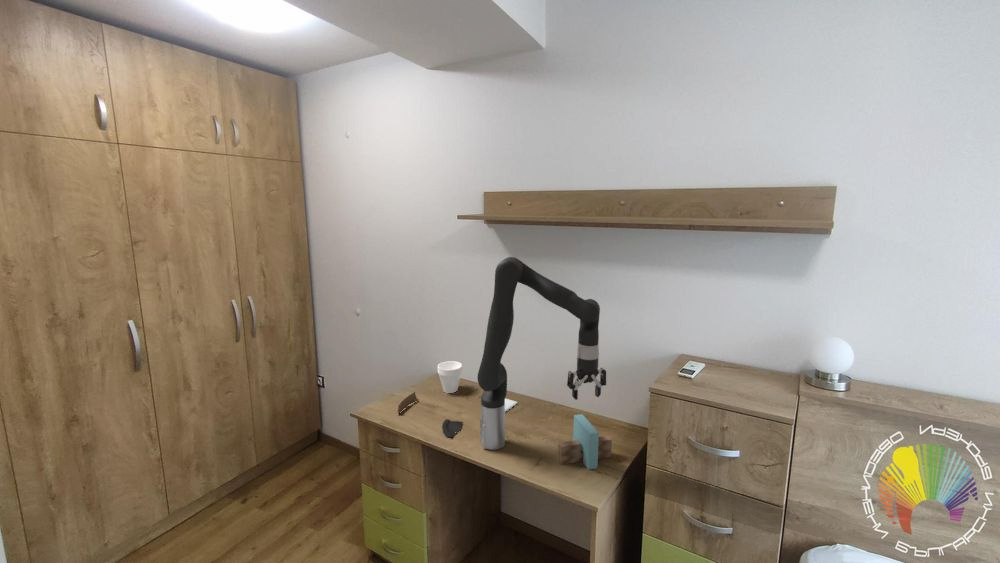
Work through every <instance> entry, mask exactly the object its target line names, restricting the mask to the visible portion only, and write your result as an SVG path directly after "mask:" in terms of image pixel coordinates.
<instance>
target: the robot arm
mask: <svg viewBox="0 0 1000 563" xmlns="http://www.w3.org/2000/svg"><path fill="white" fill-rule="evenodd" d="M518 283H519V284H522V285H524V286H526V287H529V289H532V290H533V291H535V292H537V294H538V295H540V296H542V298H544V299H545V300H546V301H548V302H550V303H552V304H553V305H556V306H557V307H559V308H561V309H564V310H566V311H567V312H568V313H570V314H571V315H573V316H575V317H576V318H577V319H579V330H578V340H577V341H578V342H577V352H576V354H577V355H576V371H571V370H569V371H568V372H567V382H566V386H567V387H568V388H569V390H572V393H571V396H572V397H573V399H574V400H575V401H576V400H578V397H579V390H578V389H579V387H582V385H583V384H587V383H590V384H591V383H594V384H595V386H594V387H595V388H594V390H595V391H594V396H595V397H597V398H600V396H601V393H602V387H603V386H605V387H606V385H607V370H605V368H603V367H600V368H599V357H600V356H599V355H600V349H599V341H600V340H599V339H600V337H599V336H600V334H599V333H600V332H599V323H600V312H601V308H600V304H599V303H598V301H596V300H595V299H592V298H588V299H584V298H582V297H580V296H579V295H578V294H577V293H576V292H575V291H573V290H572V289H569V288H567V287H565V286H564V285H561V284H559V283H557V282H555V281H553V280H551V279H550V278H547V277H546V276H543V275H542V274H541V273H539V272H537V271H536V270H534V269H532V268H531V267H530V266H528V265H527V264H526V263H524V262H523V261H522V260H521V259H519V258H517V257H516V256H515V257H513V256H508V257H505V258H504V259H502V260H501V261H499V262H498V263H497V266H496V268H495V273H494V289H493V298H492V301H491V305H490V310H489V311H490V312H489V316H488V320H487V321H488V322H487V325H486V326H487V328H486V334H485V341H484V346H483V348H484V349H483V354H482V358H481V361H480V366H479V368H478V372H477V383H478V385H479V387H480V388H481V389H482V390H483V393H482V394H481V397H480V413H481V415H480V416H481V417H480V420H479V425H480V426H479V429H480V431H479V432H480V433H479V434H480V443H481V447H482V449H483V450H489V451H496V450H500V449H502V448H503V447H504V446H505V445H506V419H505V418H506V414H505V398H507V393H508V372H507V369H506V367H505V366H504V364H503V363H502V362H501V361H502V357H503V355H504V353H505V351H506V349H507V347H508V344H509V342H510V338H511V337H512V332H513V326H514V318H515V316H514V315H515V310H514V297H515V293H516V289H517V286H518ZM598 375H599V376H600V377H599V380H600V381H599V380H598V379H597V377H598ZM576 376H577V377H576Z"/></svg>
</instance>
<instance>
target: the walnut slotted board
mask: <svg viewBox="0 0 1000 563" xmlns="http://www.w3.org/2000/svg"><path fill="white" fill-rule="evenodd" d="M612 446H613V440H612V438H611V436H609V435H602V436H599V440H598V459H603V458H610V457H612ZM557 452H558V453H557V456H558V459H557V460H558V462H559V463H560V465H566V464H571V463H578V462H583V451H582V450H581V444H580V443H579V441H578V440H573V439H572V440H567V441H559V442H558V450H557Z"/></svg>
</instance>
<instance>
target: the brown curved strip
mask: <svg viewBox="0 0 1000 563" xmlns="http://www.w3.org/2000/svg"><path fill="white" fill-rule="evenodd" d="M418 400H419V398H417V395H416V391H413V392H412V393H411V394H409V395H408V396H406V397H405V398H404V399H403V400H402V401H401V402H400V404H399V405H398V407H397V408H398V409H397V413H398V414H399V413H400V412H401V411H402V410H403V409H404V408H406V407H407V406H408V405H409V404H411V403H413V402H415V401H418ZM418 402H419V401H418ZM406 409H407V408H406ZM398 414H397V415H398ZM400 414H401V413H400ZM400 414H399V415H400Z"/></svg>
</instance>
